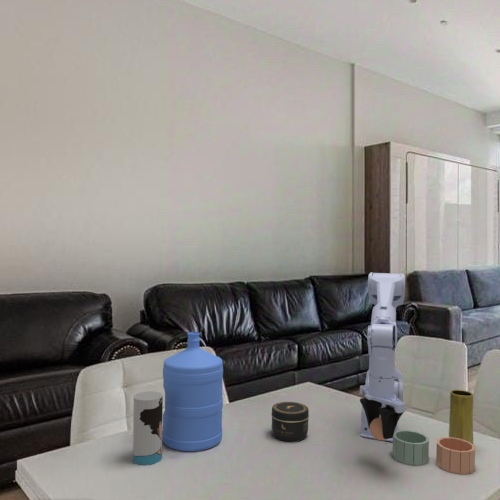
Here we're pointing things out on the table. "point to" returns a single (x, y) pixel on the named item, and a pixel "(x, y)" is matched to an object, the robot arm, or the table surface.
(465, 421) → the vase
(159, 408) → the white printed cylinder
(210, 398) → the water jug
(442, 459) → the salmon slatted bowl
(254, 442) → the table surface
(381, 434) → the ball
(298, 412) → the jar
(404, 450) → the green faceted bowl
